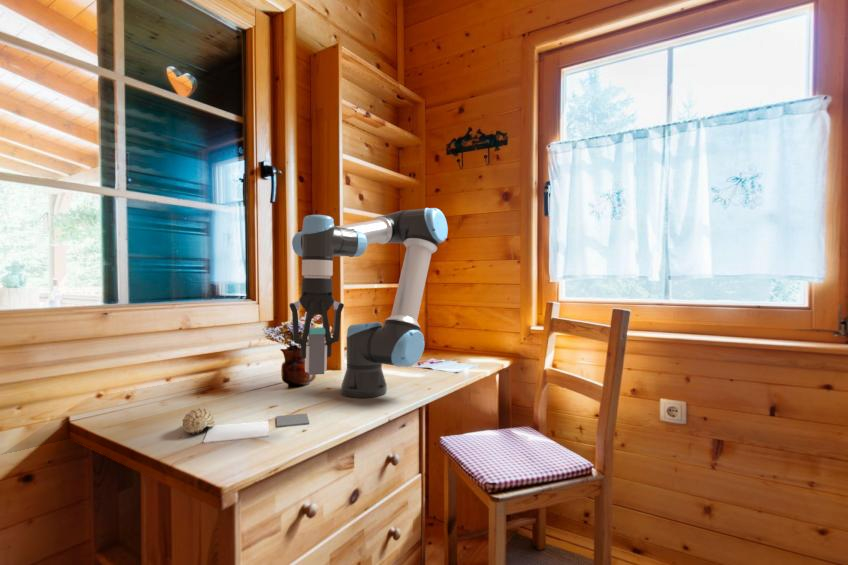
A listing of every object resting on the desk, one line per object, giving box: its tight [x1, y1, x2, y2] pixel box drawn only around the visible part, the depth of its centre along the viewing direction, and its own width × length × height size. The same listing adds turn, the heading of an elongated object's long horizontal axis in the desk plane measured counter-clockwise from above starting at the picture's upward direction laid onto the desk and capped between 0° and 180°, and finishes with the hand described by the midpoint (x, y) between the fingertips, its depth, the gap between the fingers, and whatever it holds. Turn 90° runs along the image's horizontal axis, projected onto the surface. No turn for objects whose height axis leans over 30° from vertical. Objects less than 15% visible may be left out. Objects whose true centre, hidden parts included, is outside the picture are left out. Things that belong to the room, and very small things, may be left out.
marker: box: [307, 327, 326, 376], centre depth 109 cm, size 4×4×11 cm
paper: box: [202, 420, 270, 444], centre depth 106 cm, size 14×11×1 cm
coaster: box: [275, 413, 310, 428], centre depth 115 cm, size 8×8×1 cm
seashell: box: [182, 408, 216, 435], centre depth 107 cm, size 8×6×10 cm
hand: (315, 370), depth 109 cm, fingers closed on marker, 4 cm apart
